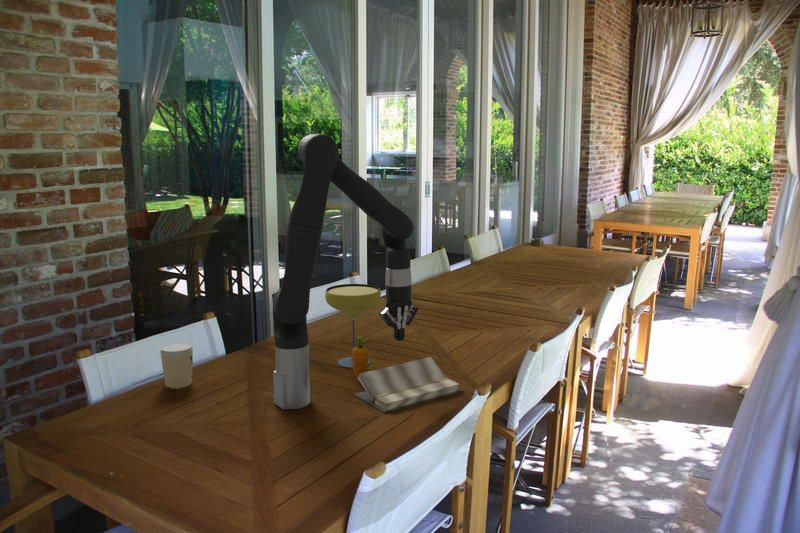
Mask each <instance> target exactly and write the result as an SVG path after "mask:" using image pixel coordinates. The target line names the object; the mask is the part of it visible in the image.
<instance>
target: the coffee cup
mask: <svg viewBox="0 0 800 533" xmlns="http://www.w3.org/2000/svg"><path fill="white" fill-rule="evenodd" d="M193 351H194V347H193V346H192V344H191V343H188V342H173V343H168V344H165V345H163V346H162V347H161V348H160V350H159V353H160V357H161V358H160V359H161V364H162V365H161V366H162V371H163V372H162V374H163V380H164V385H166V386H168V387H176V388H177V387H185V386H188V385H190V384H191V383H192V384H193V361H194V360H193V357H194V356H193ZM166 386H165V387H166Z"/></svg>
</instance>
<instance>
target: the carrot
mask: <svg viewBox="0 0 800 533" xmlns="http://www.w3.org/2000/svg"><path fill="white" fill-rule="evenodd" d="M363 338H364V334H363V335H360V336H358V337H355V341H356V343H357V344H356V345H357V346H356V345H355V347H354V348H353V347H352V349H351V350H352V351H351V357H352V363H353V368H352V369H353V372H354V375H355V378H356V379H357V381H358V383H360V381H359V380H358V376H359V374H360V373H364V372H368V371H367V370H368V366H369V365H368V360H369V349H368V348H367V347H366V346H364V344H365V342H367V341H369V339H368V338H365V339H364V340H363Z"/></svg>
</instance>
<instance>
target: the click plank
mask: <svg viewBox="0 0 800 533" xmlns="http://www.w3.org/2000/svg"><path fill="white" fill-rule="evenodd" d="M444 378H447V377H446V375H445V374H444V372H443V371H442V370H441V369H440V367H439V365H438V364H437V363H436V362H435V360H434V359H433V358H432V356H429V357H424V358H421V359H417V360H412V361H408V362H404V363H398V364H395V365H391V366H387V367H383V368H377V369H374V370H370V371H366V372H364V373H360V374H359V376H358V380H359V381H360V382H359V381H358V380H357V381H358V382H359V383H360V384H361V386H362V388H363V389H364V391H366V392H367V394H368V395H369V397H370V399H371V400H372V401H375V396H379V395H383V394H387V393H391V392H394V391H398V390H402V389H406V388H410V387H414V386H418V385H421V384H425V383H429V382H433V381H437V380H441V379H444Z"/></svg>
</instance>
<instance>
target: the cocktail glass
mask: <svg viewBox="0 0 800 533" xmlns="http://www.w3.org/2000/svg"><path fill="white" fill-rule="evenodd" d="M324 292H325V294H324V296H325V297H324V298H325V301H326V303H327V305H329V306H330V307H331V308H332V309H335V310H337V311H340V312H342V313H344V314H345V315H347V317H348V318H349V319H350V320H351V321H352V323H351V324H352V349H353V348H354V347H356V343H355V341H356V339H355V338H356V337H355V320H357V319H358V317H359V316H360V315H361V314H363V313H364V312H366V311H368V310H370V309H372V308H374V307H375V306H376V305H378V304H379V303H380V301H381V296H382V295H381V294H382V293H381V288H379V287H378V286H377V285H372V284H364V283H363V284H362V283H346V284H345V283H344V284H337V285H331V286H330V287H328V288H326V290H325V291H324ZM370 364H371V360H370V359H368V366H369V365H370ZM337 365H338V366H340V367H342V368H346V369H353V363H352V356H348V357H343V358H341V359H339V360H338V361H337Z"/></svg>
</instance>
